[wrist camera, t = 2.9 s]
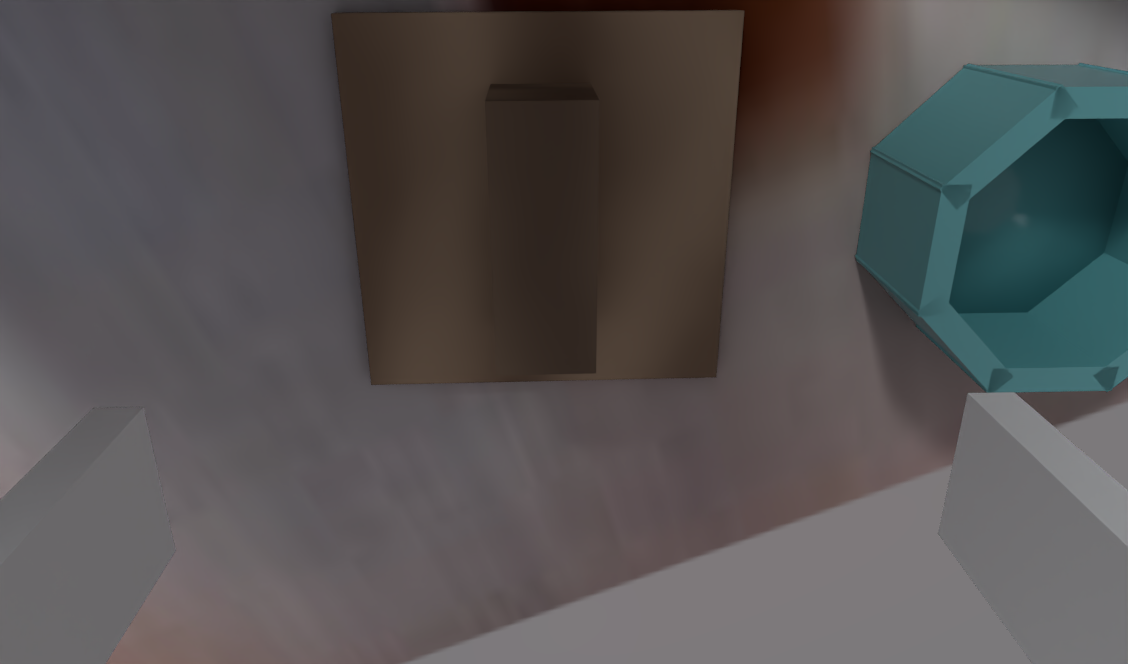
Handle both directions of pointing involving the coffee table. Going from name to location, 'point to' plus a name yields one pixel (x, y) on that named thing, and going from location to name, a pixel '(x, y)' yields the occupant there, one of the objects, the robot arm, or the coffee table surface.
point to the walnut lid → (540, 190)
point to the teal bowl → (1010, 224)
